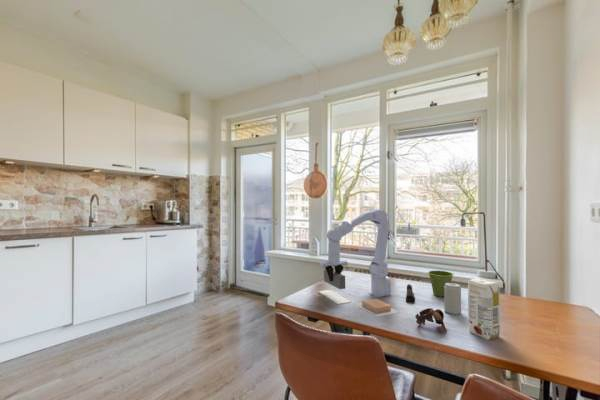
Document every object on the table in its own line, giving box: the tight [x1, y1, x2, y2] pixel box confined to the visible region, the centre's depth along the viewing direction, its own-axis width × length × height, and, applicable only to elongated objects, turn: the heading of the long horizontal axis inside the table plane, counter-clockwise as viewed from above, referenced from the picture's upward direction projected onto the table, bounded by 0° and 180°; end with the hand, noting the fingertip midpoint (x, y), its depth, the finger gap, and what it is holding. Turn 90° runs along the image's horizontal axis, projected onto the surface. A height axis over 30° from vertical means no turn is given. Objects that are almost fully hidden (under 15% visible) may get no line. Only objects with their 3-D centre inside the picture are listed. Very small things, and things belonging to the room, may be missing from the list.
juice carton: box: [467, 277, 501, 341], centre depth 100 cm, size 8×9×19 cm
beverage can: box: [443, 282, 462, 315], centre depth 121 cm, size 6×6×12 cm
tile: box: [361, 298, 392, 313], centre depth 124 cm, size 8×2×10 cm
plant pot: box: [427, 270, 454, 298], centre depth 144 cm, size 12×12×11 cm
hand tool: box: [405, 284, 416, 304], centre depth 140 cm, size 19×4×5 cm, turn 158°
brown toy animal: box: [415, 307, 447, 335], centre depth 106 cm, size 12×10×8 cm
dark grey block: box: [323, 268, 346, 290], centre depth 139 cm, size 3×16×6 cm, turn 23°
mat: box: [355, 302, 399, 317], centre depth 125 cm, size 12×16×1 cm
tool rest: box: [318, 289, 352, 305], centre depth 139 cm, size 7×20×1 cm, turn 23°
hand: (334, 280), depth 139 cm, fingers closed on dark grey block, 3 cm apart
